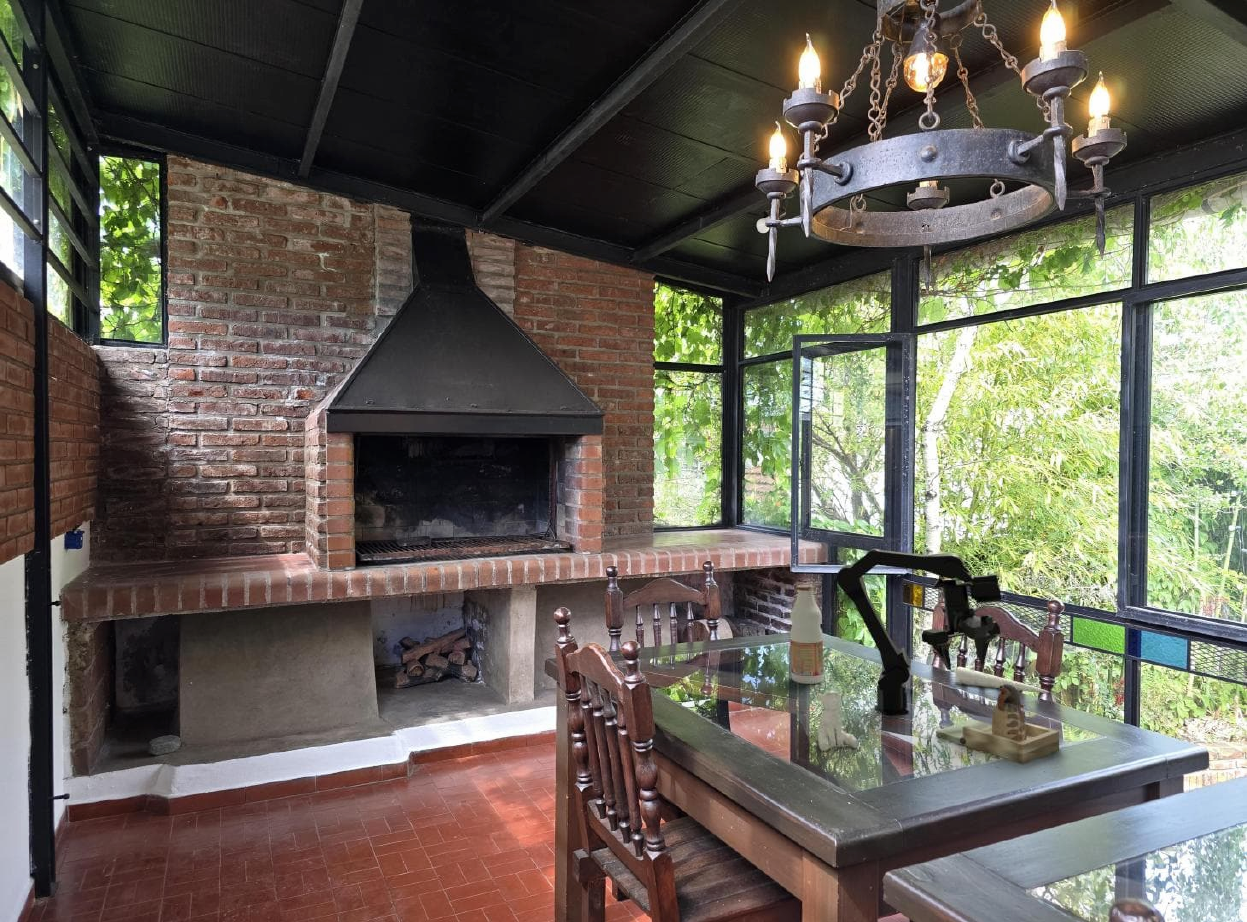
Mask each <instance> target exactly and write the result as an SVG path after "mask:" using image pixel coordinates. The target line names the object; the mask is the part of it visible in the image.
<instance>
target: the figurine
mask: <svg viewBox="0 0 1247 922" xmlns="http://www.w3.org/2000/svg"><path fill="white" fill-rule="evenodd" d="M998 689H999V691H1000V693H999V694H998V696H997V703H996V705H995V707H994V711H993V714H992V715H993V716H992V720H991V721H992V722H991V725H992V734H994V735H998V736H1001V737H1005V738H1008V739H1011V740H1015V741H1018V742H1022V741H1025V740H1027V729H1026V726H1025V722H1026V721H1025V715H1024V712H1023V710H1022V708H1025V705H1024V704H1023V703H1022V702H1021V692H1020V690H1017V689H1016V688H1015V687H1014V686H1013V685H1010V684H1004V685H1003V686H999V688H998Z"/></svg>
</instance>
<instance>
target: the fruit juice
mask: <svg viewBox="0 0 1247 922" xmlns="http://www.w3.org/2000/svg"><path fill="white" fill-rule="evenodd" d="M814 591H815V589H814V585H813V584H812V585H811V584H799V585H796V592H797V596H796V599H795V601H794V602H795V603H794V605H793V606H792V608H791V610H790V612H789V613H790V617H789V618H790V622H791V629H790V634H789V635H790V636H789V637H790V666H791V668H790V673H791V675H790V676H791V680H792V681H793V682H794V683H798V684H805V685H815V684H820V683H823V682H824V678H825V670H824V668H825V666H824V664H825V663H824V635H823V633H824V632H823V629H822V628H821V624H822V619H823V616H822V611H821V610H820V608H819V606H818V604H817V601H816V599H815V595H814V594H813V593H814Z"/></svg>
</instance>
